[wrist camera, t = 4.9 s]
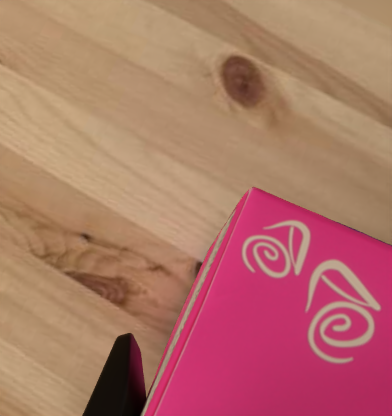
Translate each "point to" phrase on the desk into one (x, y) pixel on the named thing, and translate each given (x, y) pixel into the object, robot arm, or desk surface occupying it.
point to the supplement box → (282, 321)
